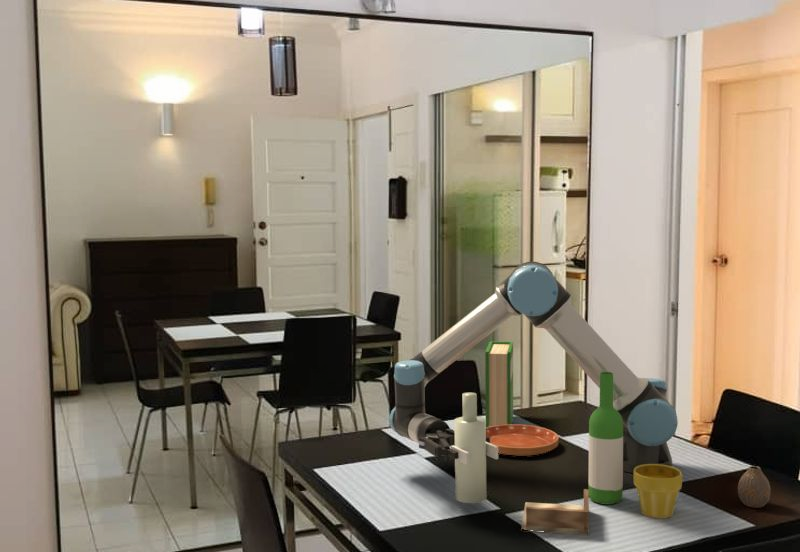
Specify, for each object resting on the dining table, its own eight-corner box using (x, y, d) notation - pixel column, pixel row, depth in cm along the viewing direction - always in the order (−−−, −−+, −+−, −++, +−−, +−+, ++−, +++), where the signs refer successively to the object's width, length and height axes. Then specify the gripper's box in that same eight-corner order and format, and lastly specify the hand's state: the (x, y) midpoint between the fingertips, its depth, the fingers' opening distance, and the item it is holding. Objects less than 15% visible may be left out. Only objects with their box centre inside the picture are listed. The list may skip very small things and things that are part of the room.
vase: (767, 512, 196) (768, 474, 195) (734, 507, 200) (735, 469, 199) (772, 503, 202) (773, 465, 201) (740, 497, 206) (741, 461, 205)
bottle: (488, 493, 203) (486, 390, 201) (484, 503, 197) (483, 398, 194) (457, 491, 205) (456, 390, 202) (453, 502, 198) (451, 397, 196)
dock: (588, 510, 199) (588, 489, 198) (588, 535, 185) (588, 512, 185) (525, 507, 201) (525, 486, 201) (521, 530, 188) (521, 508, 187)
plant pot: (653, 525, 190) (654, 481, 189) (623, 509, 199) (623, 467, 198) (691, 517, 194) (692, 474, 193) (659, 502, 203) (660, 461, 202)
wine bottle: (585, 493, 210) (586, 369, 207) (618, 493, 209) (620, 369, 206) (591, 505, 202) (592, 376, 199) (625, 505, 202) (627, 376, 199)
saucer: (571, 443, 252) (571, 430, 251) (538, 465, 233) (538, 451, 232) (498, 432, 264) (498, 420, 264) (462, 452, 245) (462, 439, 244)
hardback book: (510, 431, 264) (510, 352, 261) (485, 430, 265) (485, 351, 263) (513, 416, 281) (513, 341, 279) (489, 415, 282) (489, 341, 280)
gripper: (464, 440, 220) (519, 464, 200) (394, 453, 211) (444, 480, 191) (464, 411, 220) (519, 432, 200) (393, 423, 210) (443, 446, 190)
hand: (482, 455), depth 195 cm, fingers closed on bottle, 7 cm apart
